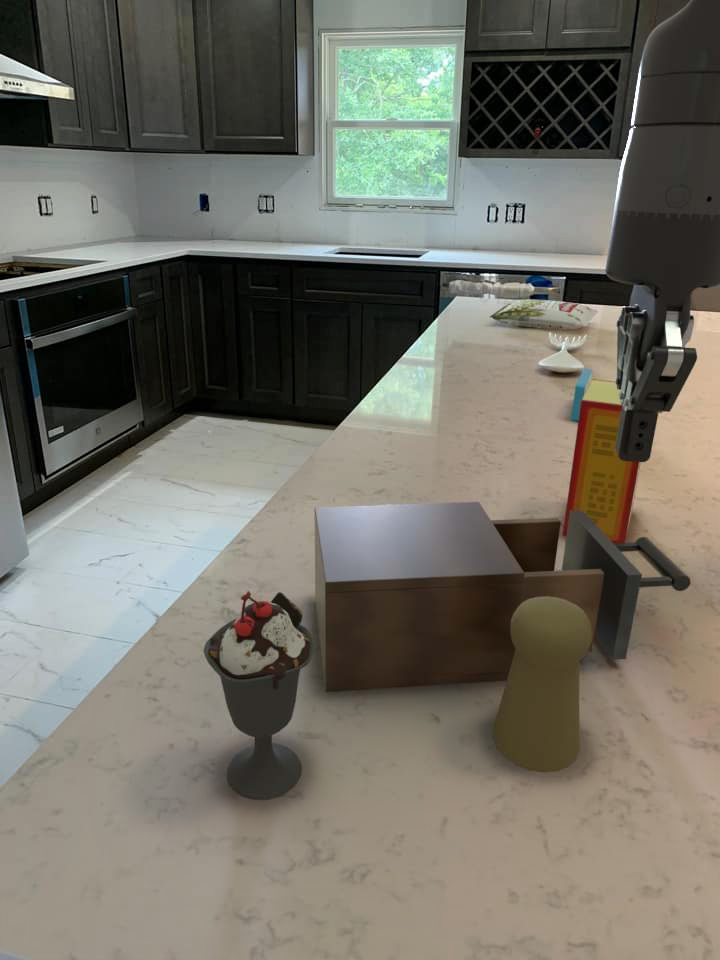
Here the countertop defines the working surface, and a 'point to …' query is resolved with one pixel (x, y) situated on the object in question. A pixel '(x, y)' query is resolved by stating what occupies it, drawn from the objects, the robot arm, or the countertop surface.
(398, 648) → the cabinet
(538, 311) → the frozen beans
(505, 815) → the countertop surface
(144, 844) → the countertop surface
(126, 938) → the countertop surface
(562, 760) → the cork
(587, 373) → the blue flat box
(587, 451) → the baking soda box
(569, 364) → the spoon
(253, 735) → the sundae
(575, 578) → the drawer
